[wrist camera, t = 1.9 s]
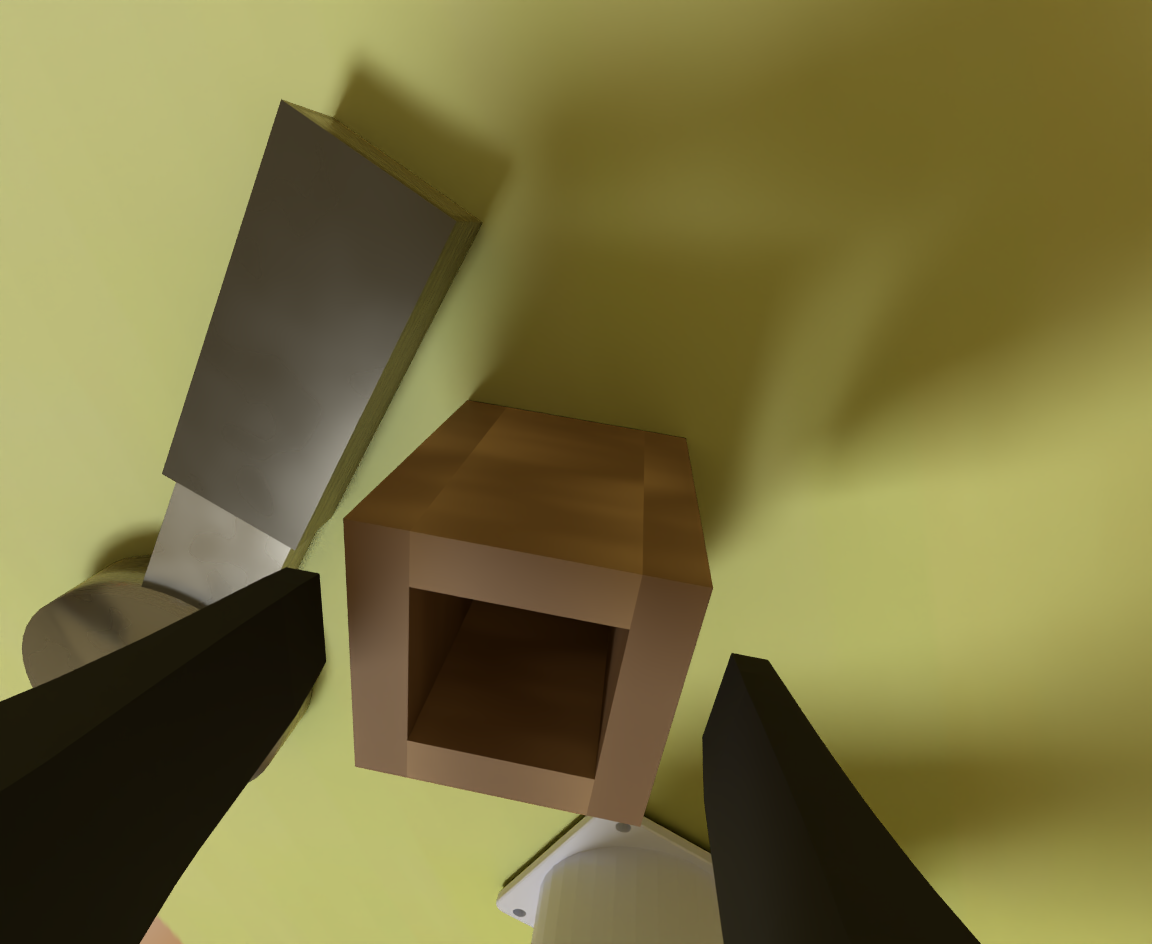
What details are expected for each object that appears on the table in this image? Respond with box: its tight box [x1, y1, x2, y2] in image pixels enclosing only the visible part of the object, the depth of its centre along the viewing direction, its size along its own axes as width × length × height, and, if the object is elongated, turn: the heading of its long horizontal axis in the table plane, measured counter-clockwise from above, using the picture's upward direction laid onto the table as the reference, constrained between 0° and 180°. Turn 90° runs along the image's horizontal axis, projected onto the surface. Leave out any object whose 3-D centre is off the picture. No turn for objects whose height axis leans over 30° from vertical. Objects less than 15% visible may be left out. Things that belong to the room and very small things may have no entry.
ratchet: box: [22, 99, 482, 782], centre depth 13 cm, size 21×8×6 cm, turn 147°
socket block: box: [343, 400, 713, 827], centre depth 12 cm, size 5×5×6 cm
